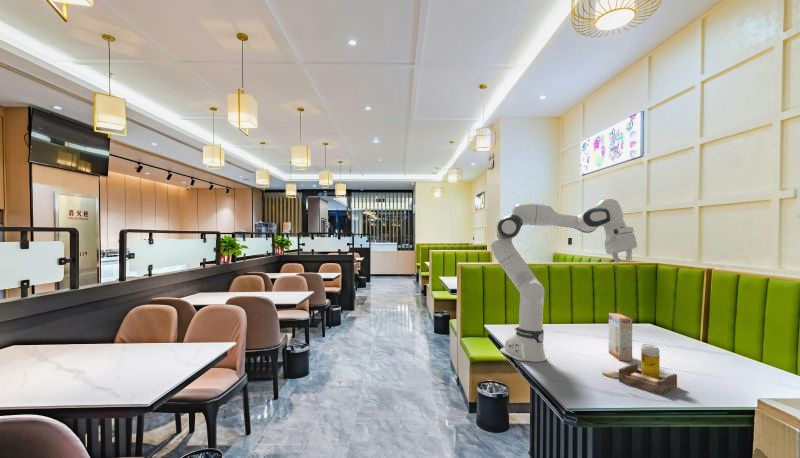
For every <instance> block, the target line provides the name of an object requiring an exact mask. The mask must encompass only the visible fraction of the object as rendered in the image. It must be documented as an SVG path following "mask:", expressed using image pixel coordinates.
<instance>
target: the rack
mask: <svg viewBox="0 0 800 458" xmlns="http://www.w3.org/2000/svg"><path fill="white" fill-rule="evenodd" d="M638 366H639V365H638V363H637V362H634V363H631V364H629V365H626V366H624V367H620V368H618V372H619V379H618V381H619V382H620V383H623V384H626V385H629V386H633V387H635V388H639V389H642V390H645V391H648V392H651V393H653V394H657V395H660V396H662V395H665V394H667V393H668V392H670V391H672V390H674V389H676V388H677V387H678V374H676V373H672V374H670V375H668V376H666V377H665V376H661V375H660V380H659V381H658V385H656V384H653V383H650V382H646V381H643V380H640V379H637V378H633V377H631V374H632V373H639V374H641V369H639V367H638Z"/></svg>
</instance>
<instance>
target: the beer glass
mask: <svg viewBox="0 0 800 458" xmlns="http://www.w3.org/2000/svg"><path fill="white" fill-rule="evenodd" d="M640 352H641V353H640V355H641V356H640V357H641V358H640V363H641V365H640V367H641V369H640V370H641V374H642V375H645V376H649V377H652V378H656V379H659V380H660V376H661V375H660V372H661V371H660V370H661V369H660V349H659V347H658V346H657V345H654V344H649V343H647V344H646V343H644V344H643V343H642V345H641V348H640Z"/></svg>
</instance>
